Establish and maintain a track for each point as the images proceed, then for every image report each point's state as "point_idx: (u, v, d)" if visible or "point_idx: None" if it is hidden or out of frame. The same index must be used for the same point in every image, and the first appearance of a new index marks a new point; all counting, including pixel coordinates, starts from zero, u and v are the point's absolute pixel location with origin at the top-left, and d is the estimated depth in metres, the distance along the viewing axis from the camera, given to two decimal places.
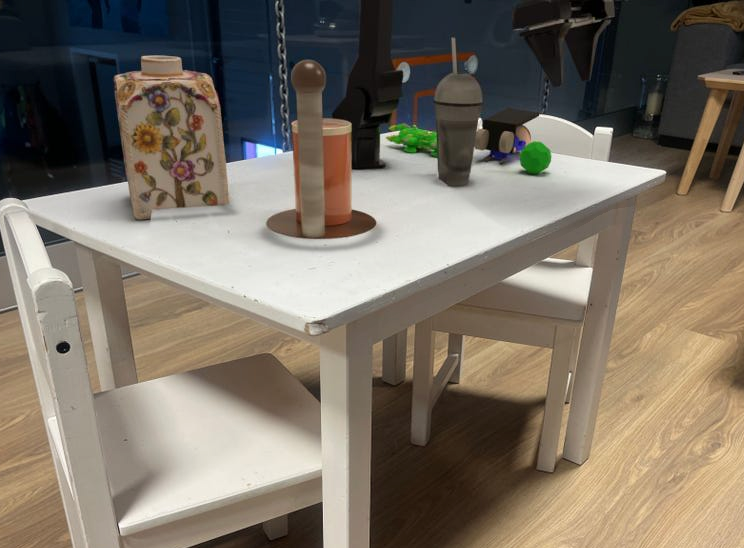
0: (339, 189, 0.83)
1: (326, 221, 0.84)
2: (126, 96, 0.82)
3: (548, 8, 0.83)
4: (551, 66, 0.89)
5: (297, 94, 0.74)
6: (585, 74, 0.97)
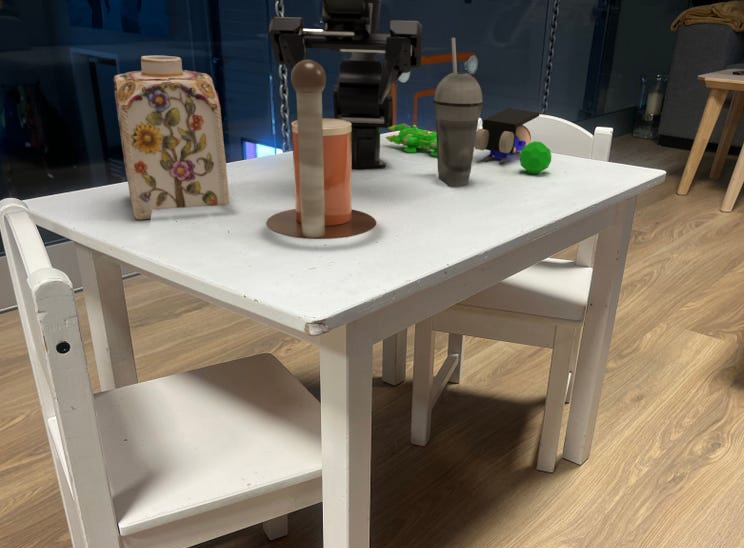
0: (339, 189, 0.83)
1: (326, 221, 0.84)
2: (126, 96, 0.82)
3: None
4: None
5: (297, 94, 0.74)
6: None
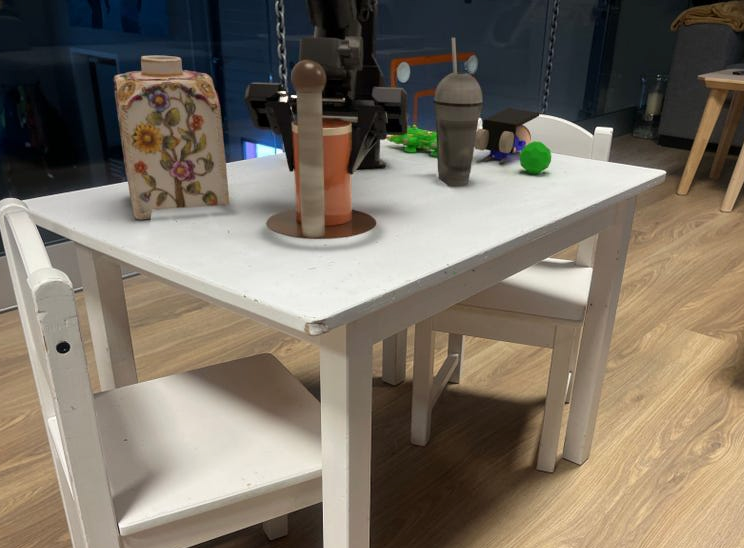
0: (339, 189, 0.83)
1: (326, 221, 0.84)
2: (126, 96, 0.82)
3: None
4: None
5: (297, 94, 0.74)
6: None
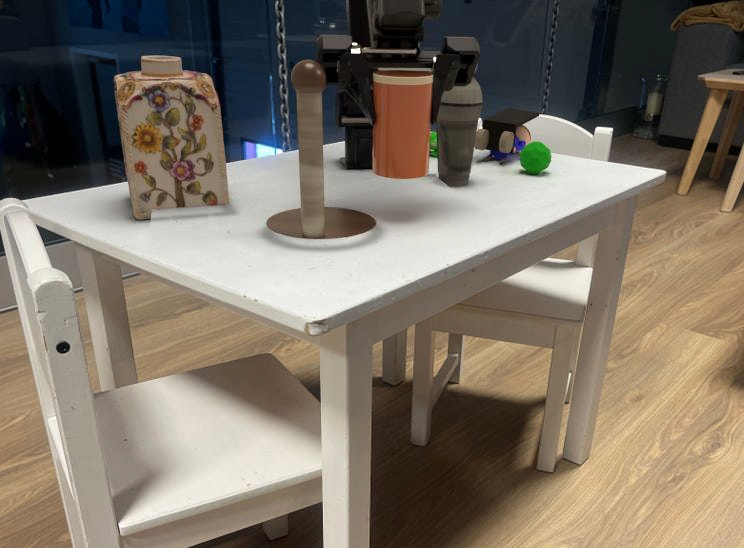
0: (425, 140, 0.82)
1: (412, 173, 0.83)
2: (126, 96, 0.82)
3: None
4: (363, 104, 0.82)
5: (297, 94, 0.74)
6: (431, 116, 0.83)
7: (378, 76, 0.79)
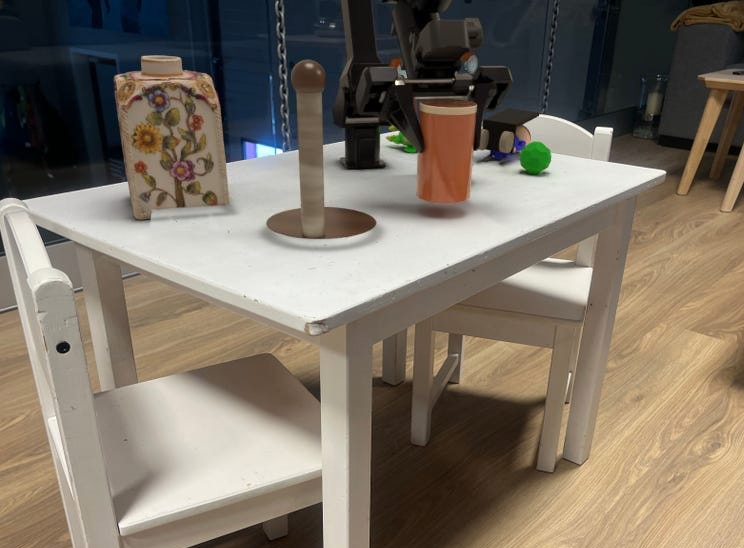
0: (470, 165, 0.86)
1: (460, 198, 0.87)
2: (126, 96, 0.82)
3: (363, 78, 0.83)
4: (410, 133, 0.85)
5: (297, 94, 0.74)
6: (474, 142, 0.87)
7: (428, 107, 0.82)
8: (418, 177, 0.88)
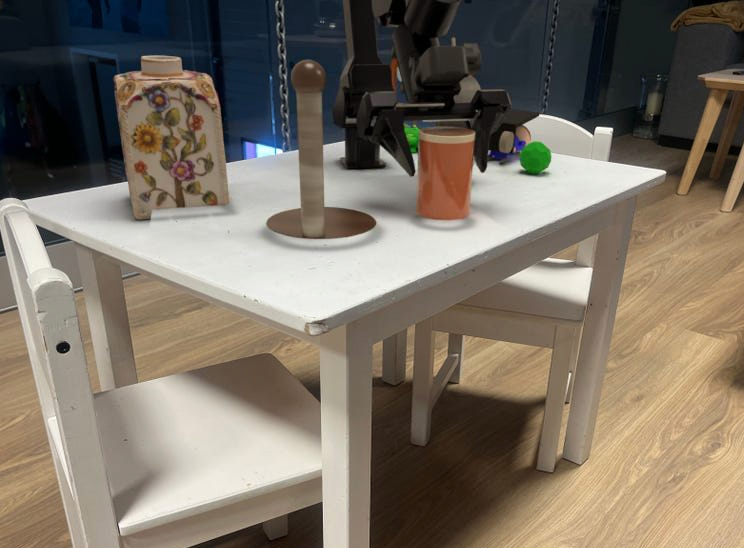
0: (469, 192, 0.88)
1: None
2: (126, 96, 0.82)
3: (363, 103, 0.85)
4: (401, 157, 0.86)
5: (297, 94, 0.74)
6: (481, 164, 0.88)
7: (427, 135, 0.84)
8: (417, 203, 0.89)
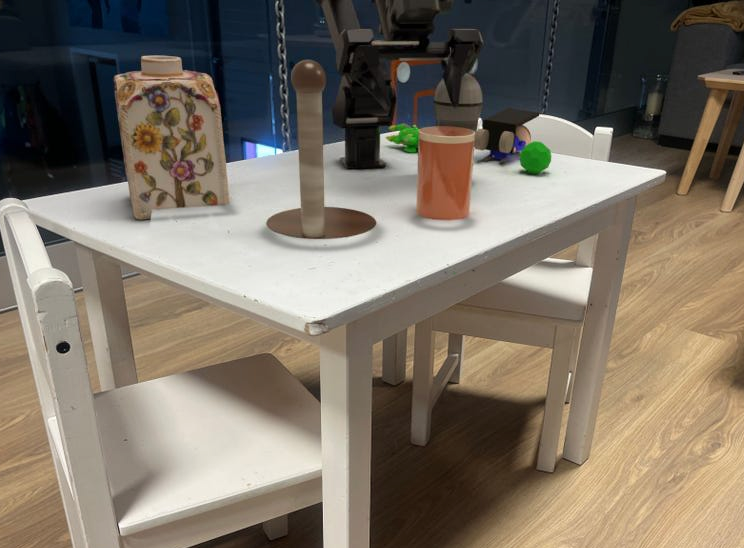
0: (469, 192, 0.88)
1: None
2: (126, 96, 0.82)
3: (341, 39, 0.90)
4: (377, 92, 0.91)
5: (297, 94, 0.74)
6: (453, 100, 0.93)
7: (427, 135, 0.84)
8: (417, 203, 0.89)
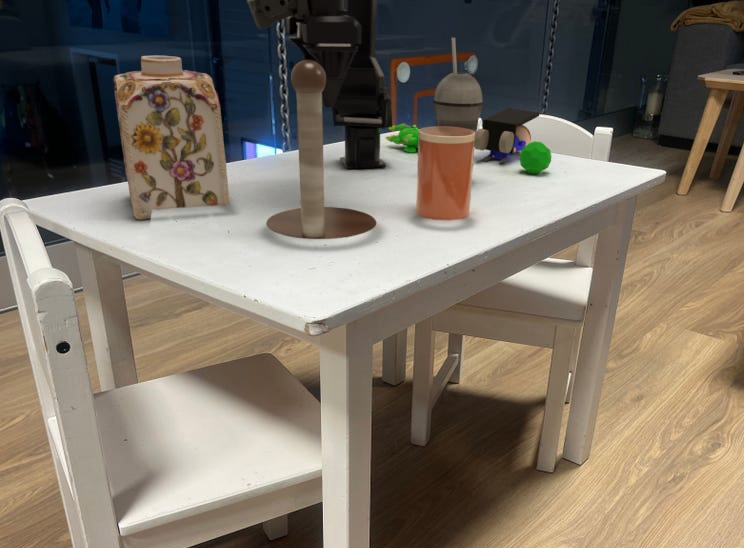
0: (469, 192, 0.88)
1: None
2: (126, 96, 0.82)
3: None
4: None
5: (297, 94, 0.74)
6: None
7: (427, 135, 0.84)
8: (417, 203, 0.89)
